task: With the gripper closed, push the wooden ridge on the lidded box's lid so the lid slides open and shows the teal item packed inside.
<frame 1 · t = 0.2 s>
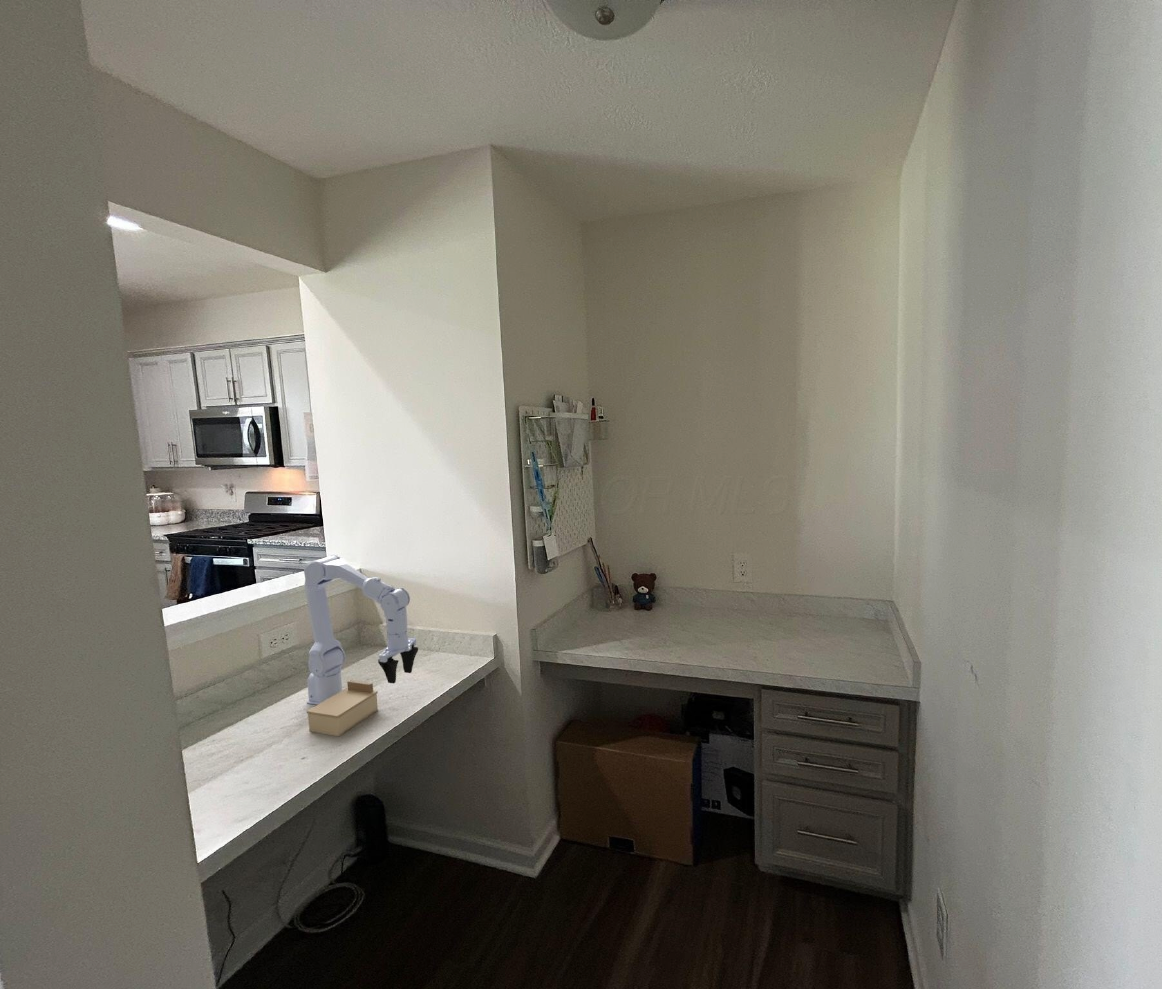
hand: (400, 677, 181), 10 cm above the worktop, fingers open, 7 cm apart
lidded box: (344, 720, 176), on the worktop
lid: (343, 697, 175), point 7 cm above the worktop, slide at 0.0 cm
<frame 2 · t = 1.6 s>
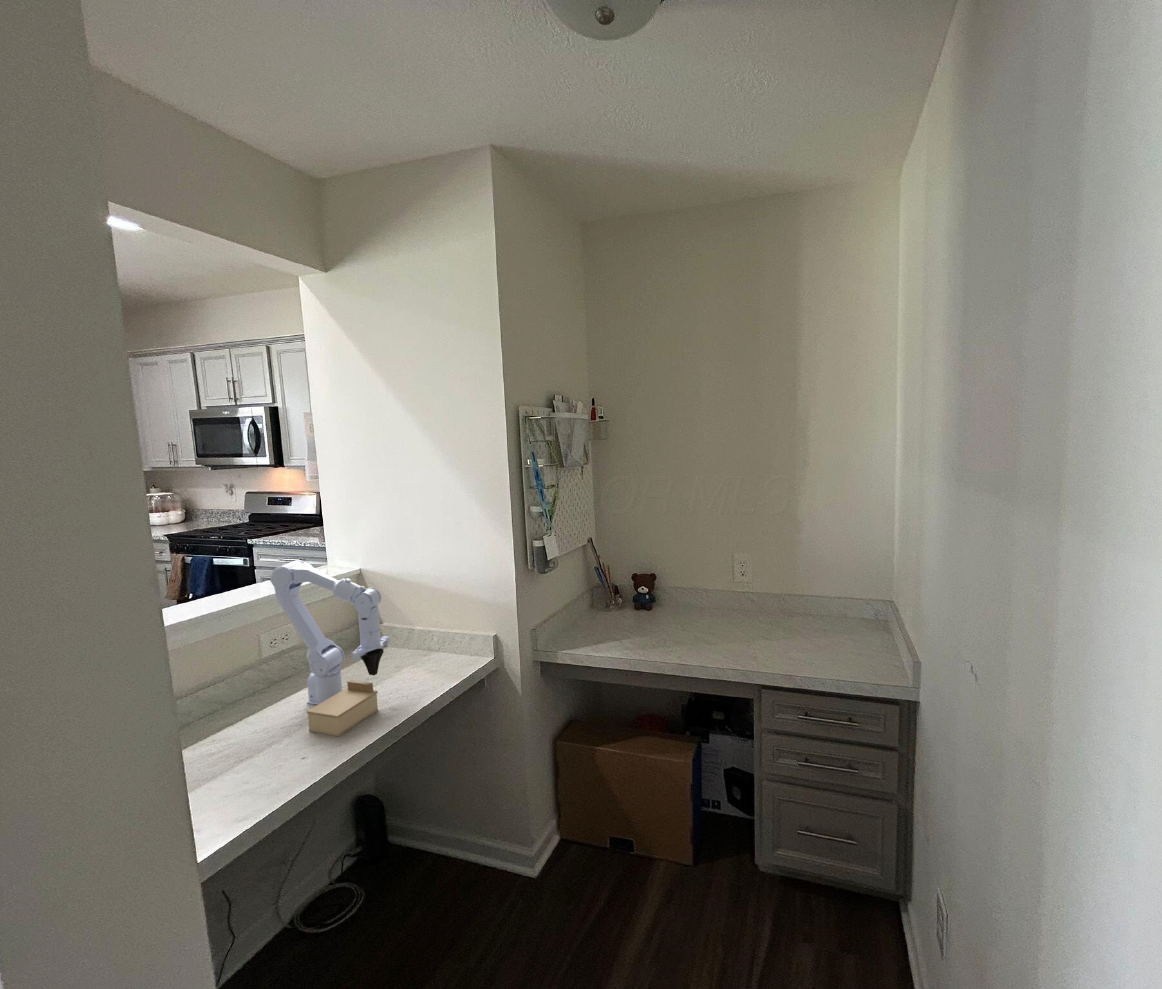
hand: (373, 674, 187), 8 cm above the worktop, fingers closed
nothing on the worktop moved.
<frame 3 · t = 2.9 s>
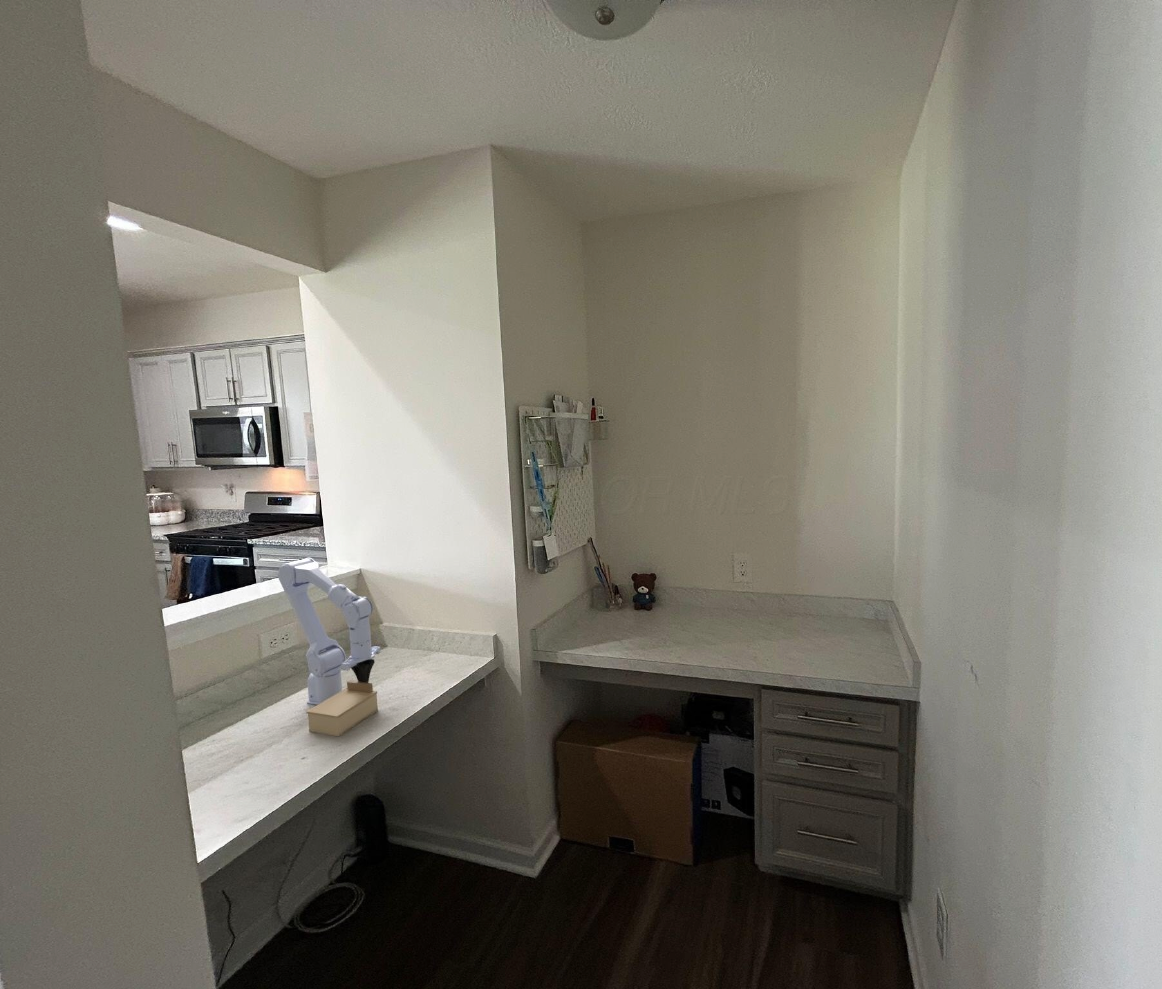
hand: (363, 685, 184), 7 cm above the worktop, fingers closed
lid: (342, 697, 175), point 7 cm above the worktop, slide at 0.2 cm, touching gripper
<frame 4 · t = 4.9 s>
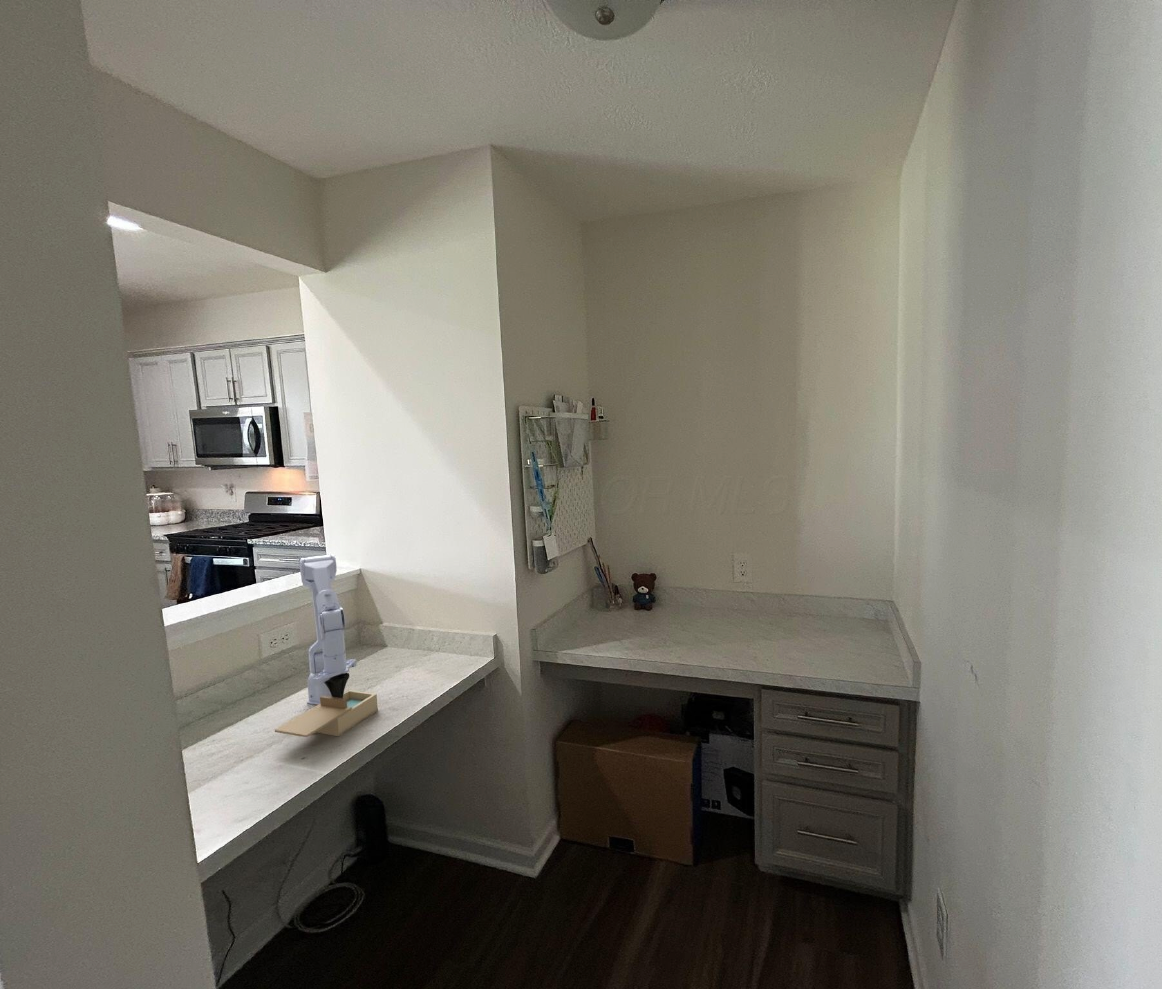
hand: (337, 700, 174), 7 cm above the worktop, fingers closed
lid: (314, 714, 165), point 7 cm above the worktop, slide at 10.9 cm, touching gripper
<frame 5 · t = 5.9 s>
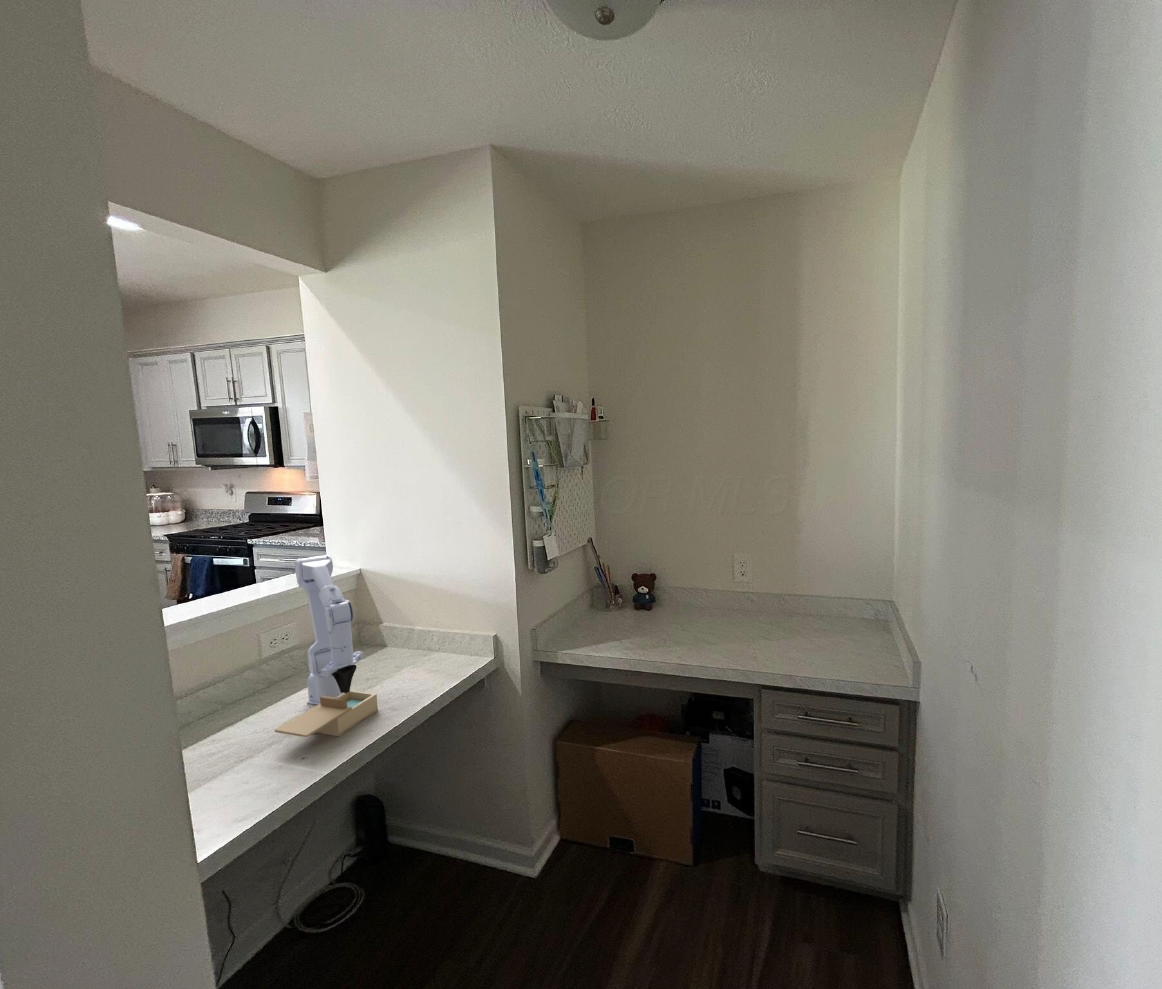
hand: (345, 692, 176), 8 cm above the worktop, fingers closed
lid: (314, 714, 165), point 7 cm above the worktop, slide at 10.9 cm
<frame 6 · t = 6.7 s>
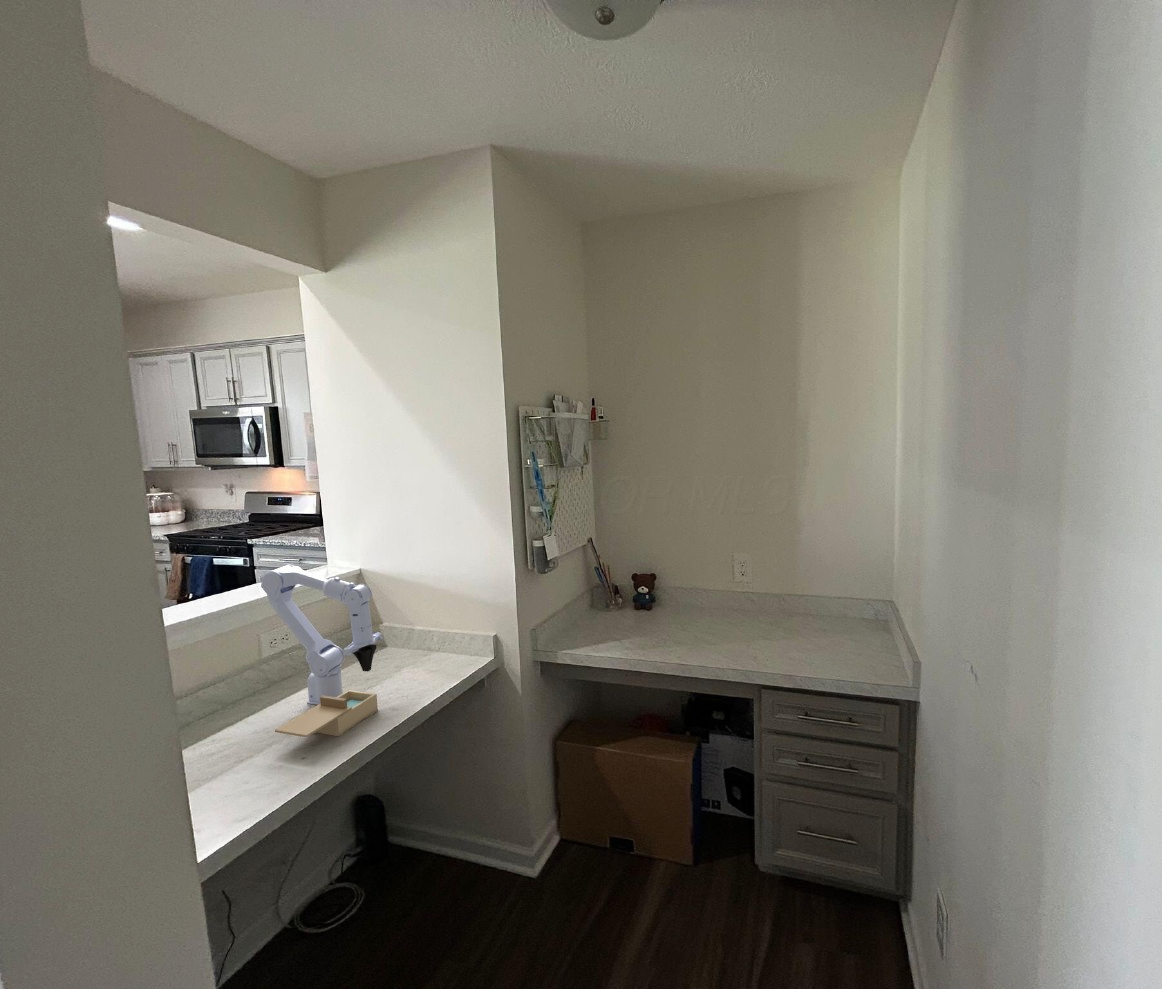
hand: (366, 670, 187), 10 cm above the worktop, fingers closed
nothing on the worktop moved.
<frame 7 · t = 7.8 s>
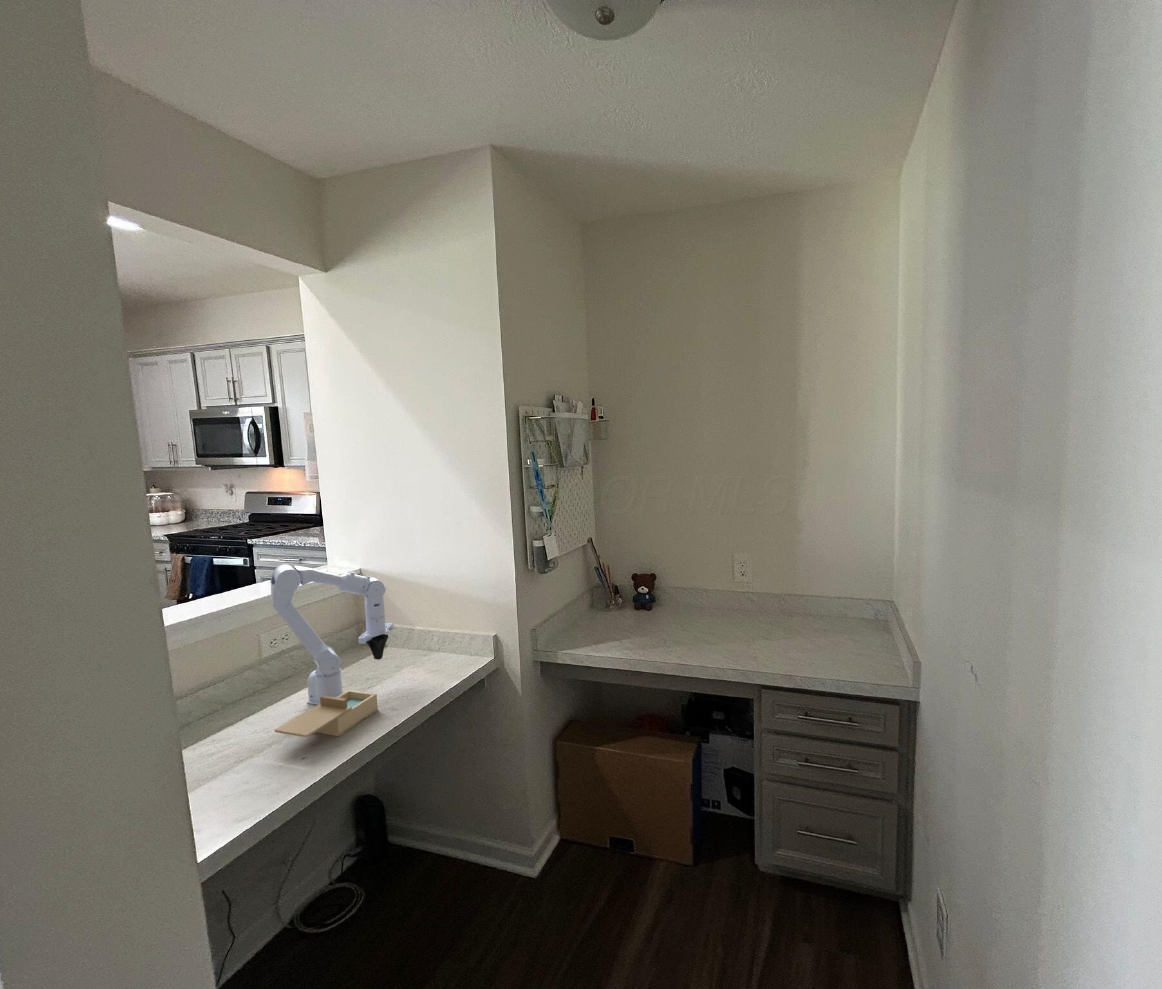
hand: (378, 658, 197), 9 cm above the worktop, fingers closed
nothing on the worktop moved.
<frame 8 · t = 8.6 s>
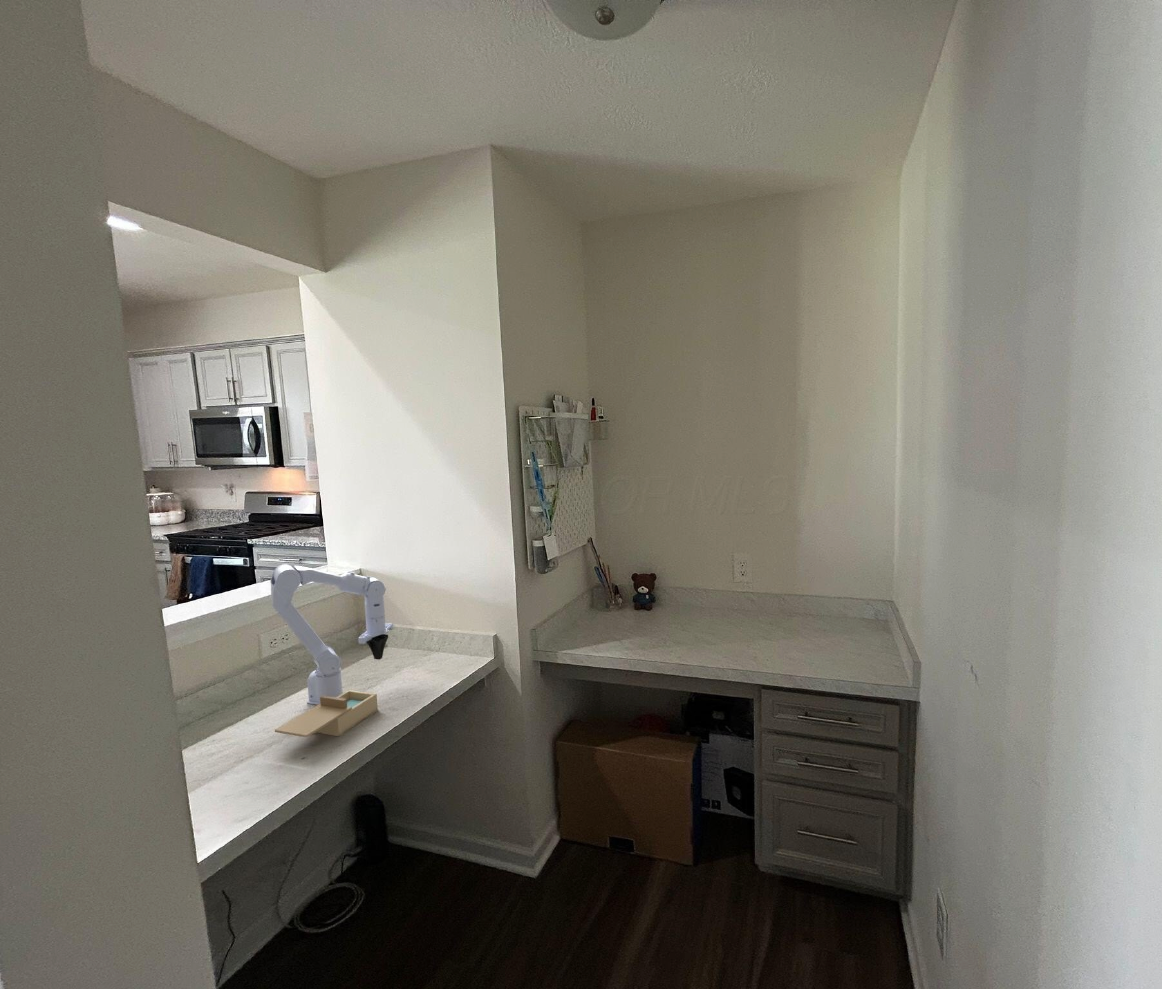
hand: (378, 658, 197), 9 cm above the worktop, fingers closed
nothing on the worktop moved.
at the end: lid slide at 10.9 cm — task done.
